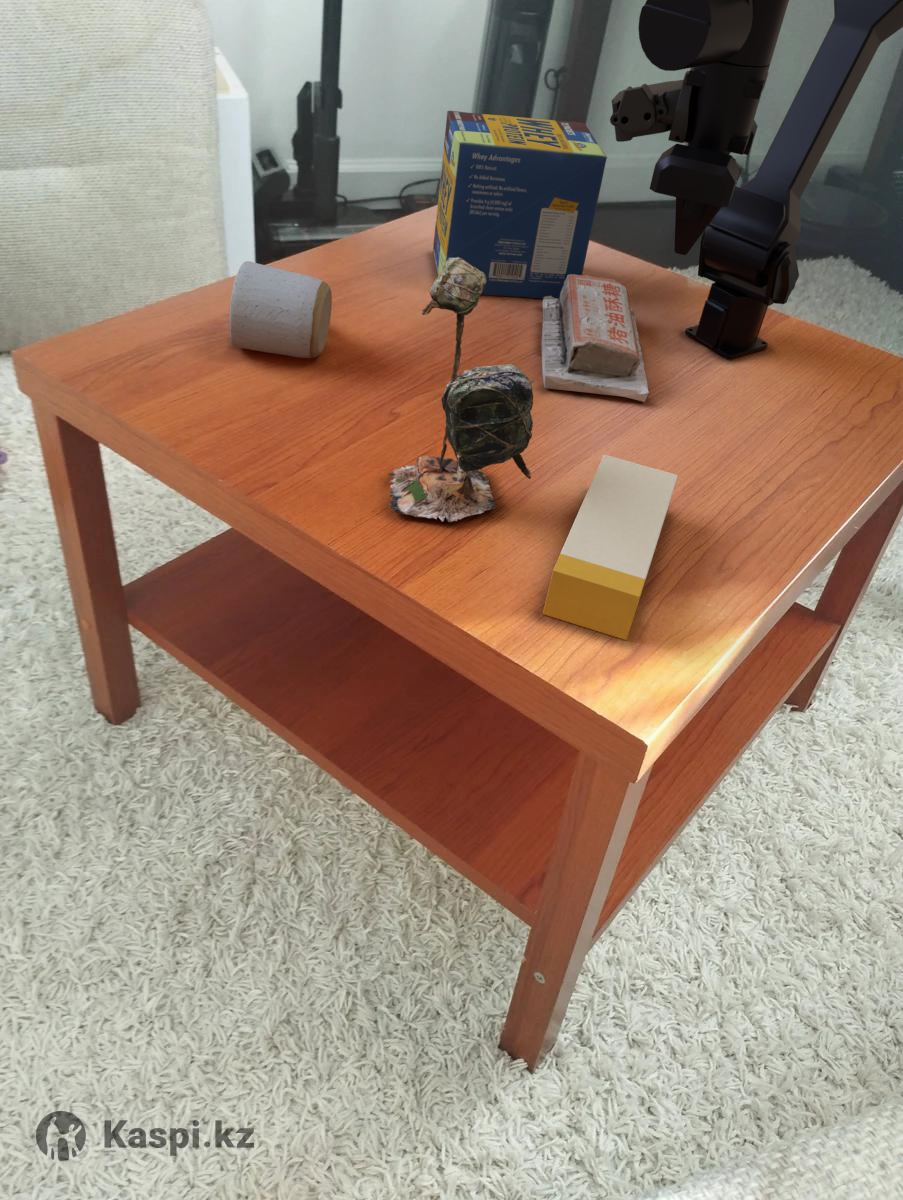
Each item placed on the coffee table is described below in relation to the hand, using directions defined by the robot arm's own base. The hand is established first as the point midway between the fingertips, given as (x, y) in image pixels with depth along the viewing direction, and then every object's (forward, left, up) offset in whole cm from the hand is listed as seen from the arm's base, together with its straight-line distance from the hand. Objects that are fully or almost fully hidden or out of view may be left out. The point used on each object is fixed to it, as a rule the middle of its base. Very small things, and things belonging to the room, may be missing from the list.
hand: (680, 252), depth 88 cm
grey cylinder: (+28, -21, -13) cm, 37 cm away
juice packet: (+16, +14, -11) cm, 24 cm away
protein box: (-2, -25, -13) cm, 28 cm away
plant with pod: (+28, +7, -13) cm, 32 cm away
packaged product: (+1, -7, -13) cm, 15 cm away
